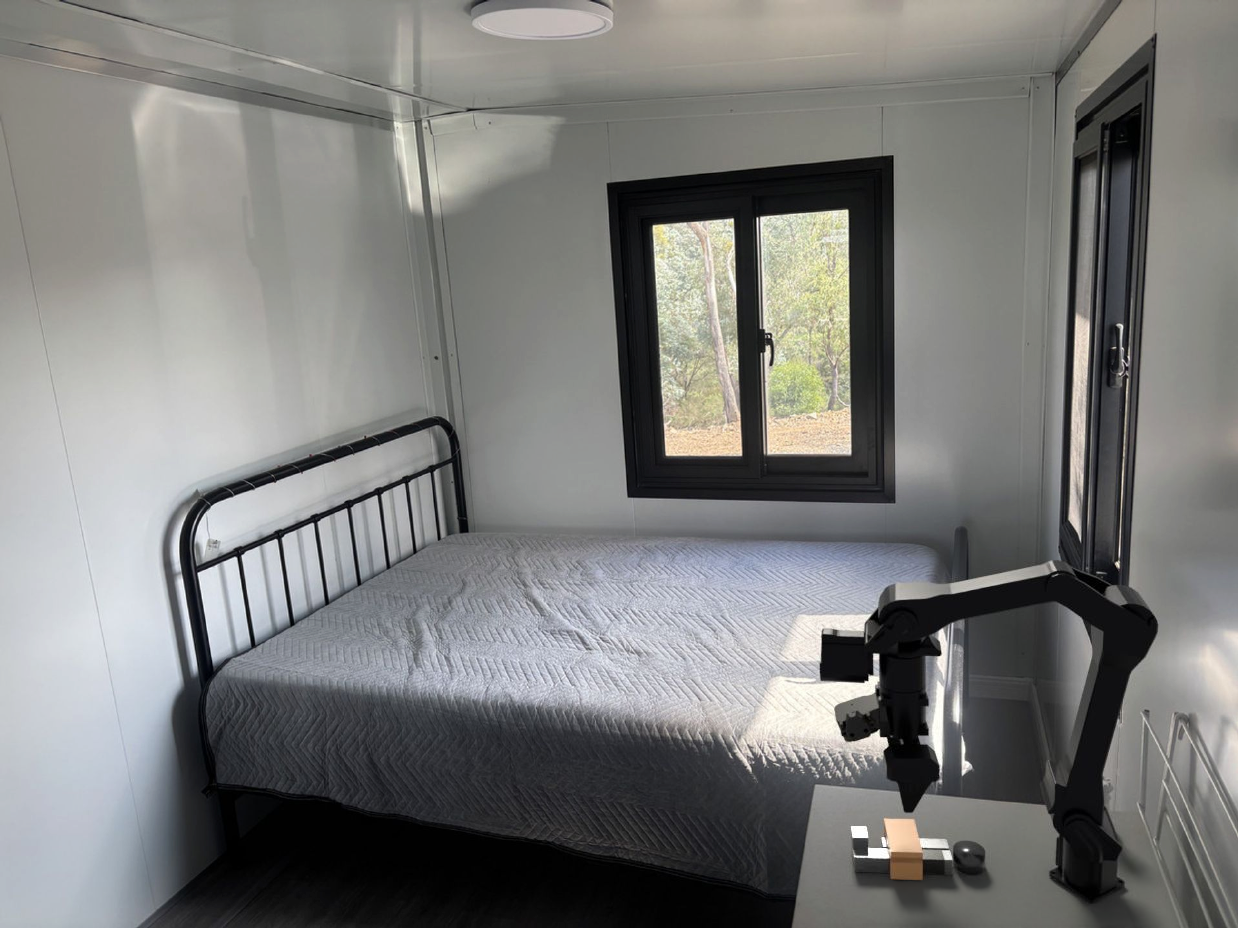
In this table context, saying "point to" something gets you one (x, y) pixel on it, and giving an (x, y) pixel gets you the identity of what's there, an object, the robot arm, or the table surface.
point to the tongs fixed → (957, 854)
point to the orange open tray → (904, 849)
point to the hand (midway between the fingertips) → (903, 791)
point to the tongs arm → (880, 858)
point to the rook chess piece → (1107, 795)
